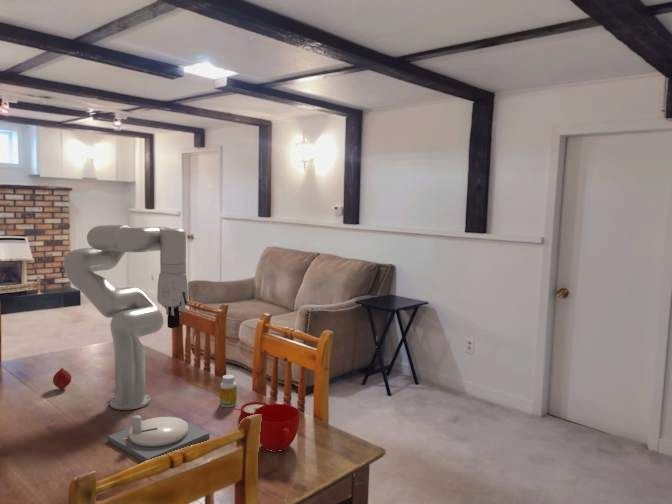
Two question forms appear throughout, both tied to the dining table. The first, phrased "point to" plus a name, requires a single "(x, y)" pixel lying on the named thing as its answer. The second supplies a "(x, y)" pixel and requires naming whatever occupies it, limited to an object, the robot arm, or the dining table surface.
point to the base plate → (148, 453)
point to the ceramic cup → (278, 425)
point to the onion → (62, 379)
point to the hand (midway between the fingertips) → (173, 327)
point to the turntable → (157, 431)
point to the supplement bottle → (228, 391)
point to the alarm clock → (249, 409)
